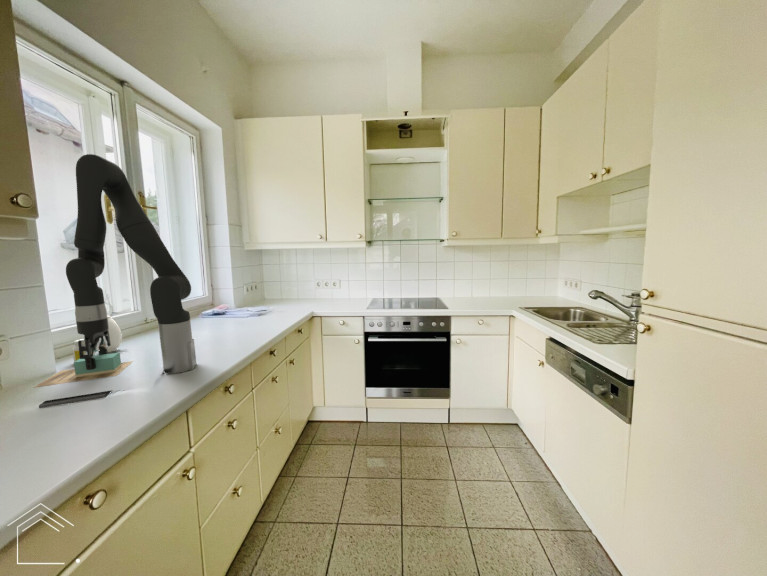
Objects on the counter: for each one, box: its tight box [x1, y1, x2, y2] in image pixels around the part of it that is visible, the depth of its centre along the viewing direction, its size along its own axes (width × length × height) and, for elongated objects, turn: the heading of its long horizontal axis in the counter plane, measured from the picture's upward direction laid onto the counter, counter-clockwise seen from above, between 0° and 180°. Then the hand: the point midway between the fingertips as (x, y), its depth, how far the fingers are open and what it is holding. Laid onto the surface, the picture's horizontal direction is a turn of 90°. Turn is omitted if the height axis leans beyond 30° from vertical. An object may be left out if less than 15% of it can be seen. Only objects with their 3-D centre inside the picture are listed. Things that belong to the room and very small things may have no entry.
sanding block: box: [73, 352, 122, 377], centre depth 102 cm, size 10×6×5 cm, turn 112°
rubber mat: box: [38, 390, 114, 409], centre depth 88 cm, size 14×10×1 cm
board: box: [33, 360, 134, 388], centre depth 101 cm, size 20×14×2 cm
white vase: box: [107, 315, 123, 353], centre depth 127 cm, size 8×8×18 cm
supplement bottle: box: [72, 338, 92, 363], centre depth 112 cm, size 5×5×10 cm
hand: (98, 364), depth 102 cm, fingers open, 8 cm apart
